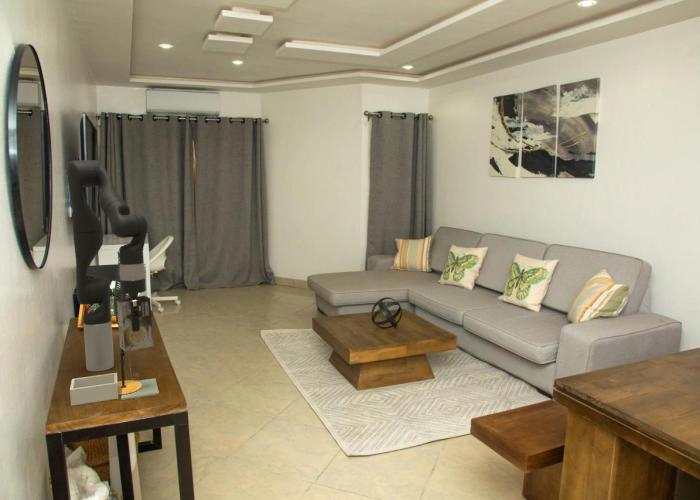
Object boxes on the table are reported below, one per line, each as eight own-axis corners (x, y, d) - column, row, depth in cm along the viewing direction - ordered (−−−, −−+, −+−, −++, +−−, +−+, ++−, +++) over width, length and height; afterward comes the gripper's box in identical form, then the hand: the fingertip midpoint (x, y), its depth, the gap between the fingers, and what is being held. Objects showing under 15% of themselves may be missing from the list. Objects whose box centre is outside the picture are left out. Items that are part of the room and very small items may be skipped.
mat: (120, 385, 178) (120, 383, 178) (155, 379, 183) (155, 378, 183) (121, 400, 166) (121, 398, 166) (158, 394, 170) (158, 392, 170)
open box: (73, 393, 171) (72, 378, 170) (117, 387, 176) (116, 372, 176) (70, 405, 162) (69, 390, 161) (118, 398, 167) (117, 383, 166)
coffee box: (148, 342, 178) (145, 294, 176) (153, 346, 173) (151, 298, 171) (119, 347, 172) (116, 298, 170) (124, 352, 167) (121, 301, 165)
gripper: (119, 274, 175) (122, 324, 177) (120, 282, 162) (123, 335, 164) (144, 273, 178) (146, 321, 180) (146, 280, 165) (149, 332, 167)
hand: (135, 327), depth 172 cm, fingers closed on coffee box, 7 cm apart
